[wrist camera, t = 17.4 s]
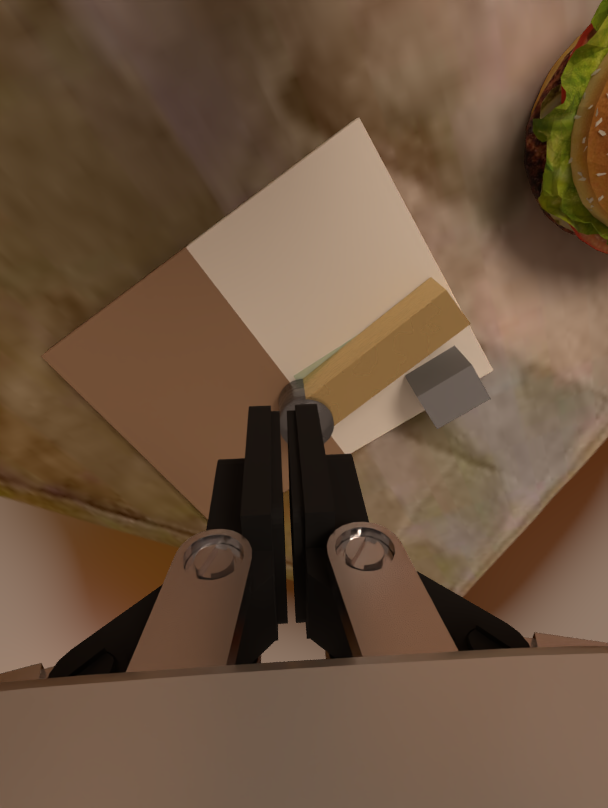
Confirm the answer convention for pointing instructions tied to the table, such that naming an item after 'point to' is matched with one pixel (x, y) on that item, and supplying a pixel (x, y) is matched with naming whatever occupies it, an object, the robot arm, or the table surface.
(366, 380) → the bar
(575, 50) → the food
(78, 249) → the table surface
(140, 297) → the door panel
